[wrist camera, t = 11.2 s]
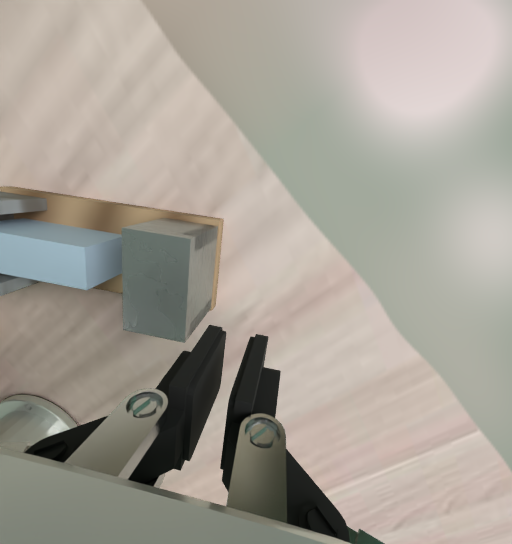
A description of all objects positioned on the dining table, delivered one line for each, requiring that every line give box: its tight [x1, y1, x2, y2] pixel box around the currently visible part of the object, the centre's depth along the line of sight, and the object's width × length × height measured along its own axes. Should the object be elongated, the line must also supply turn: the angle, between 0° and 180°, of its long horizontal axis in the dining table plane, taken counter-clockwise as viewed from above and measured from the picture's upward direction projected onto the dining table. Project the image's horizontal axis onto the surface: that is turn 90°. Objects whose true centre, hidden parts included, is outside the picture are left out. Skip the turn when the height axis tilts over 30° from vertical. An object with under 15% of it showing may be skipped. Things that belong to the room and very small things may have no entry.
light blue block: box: [0, 218, 122, 290], centre depth 23 cm, size 10×3×5 cm, turn 82°
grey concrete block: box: [122, 218, 218, 343], centre depth 21 cm, size 4×7×6 cm, turn 172°
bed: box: [0, 187, 223, 311], centre depth 23 cm, size 20×8×6 cm, turn 82°
